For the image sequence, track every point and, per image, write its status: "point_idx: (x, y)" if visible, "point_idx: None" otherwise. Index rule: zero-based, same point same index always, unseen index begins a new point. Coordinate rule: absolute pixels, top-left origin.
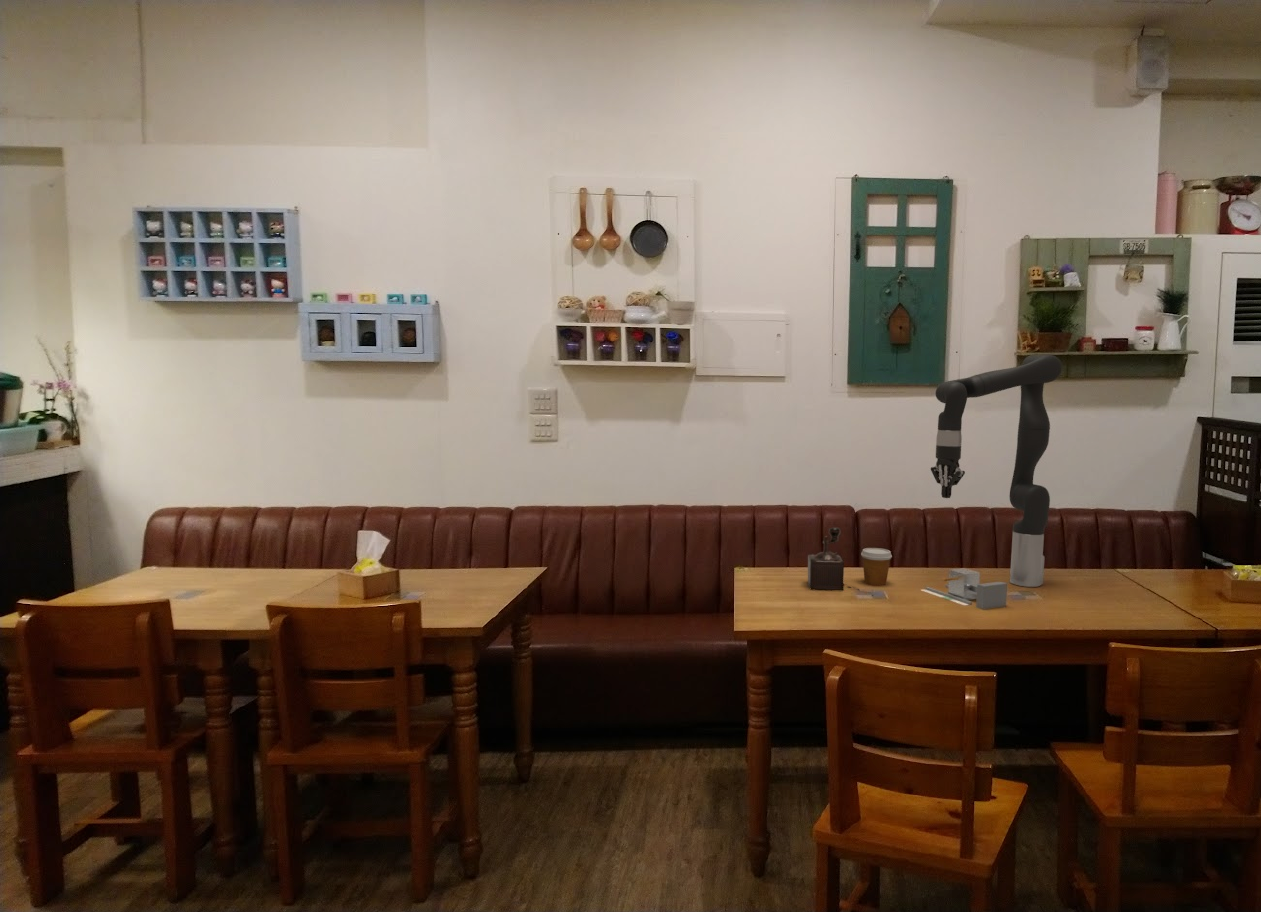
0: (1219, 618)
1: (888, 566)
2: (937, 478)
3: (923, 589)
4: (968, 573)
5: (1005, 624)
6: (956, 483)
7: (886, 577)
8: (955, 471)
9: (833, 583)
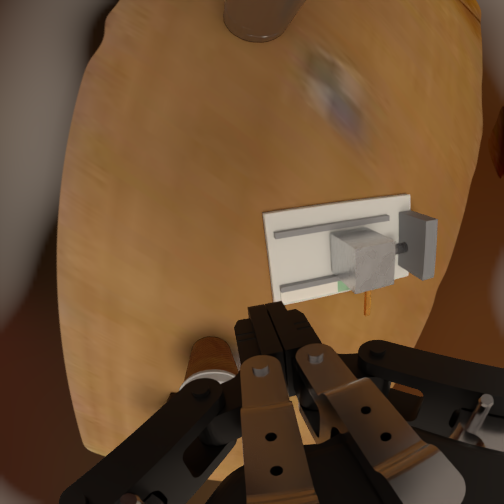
0: None
1: (234, 367)
2: (210, 462)
3: (281, 296)
4: (392, 271)
5: (441, 257)
6: (394, 355)
7: (230, 354)
8: (449, 449)
9: None
